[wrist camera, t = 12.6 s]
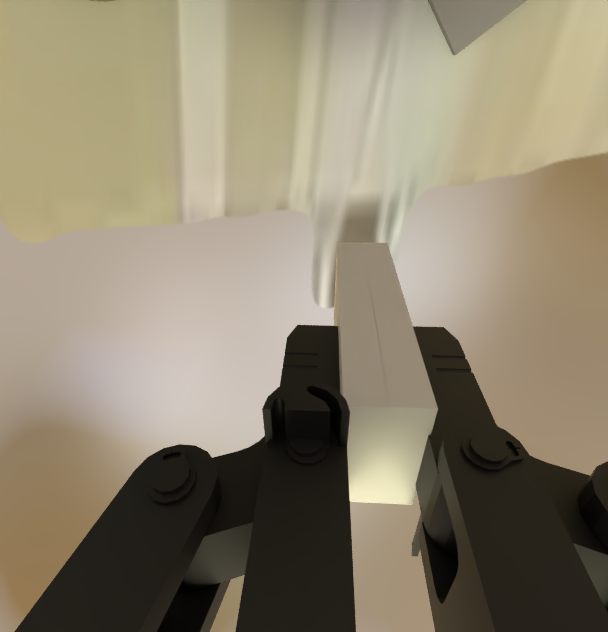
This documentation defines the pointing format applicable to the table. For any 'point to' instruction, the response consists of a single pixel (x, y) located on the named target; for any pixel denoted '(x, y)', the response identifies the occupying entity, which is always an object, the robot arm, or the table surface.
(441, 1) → the mat
